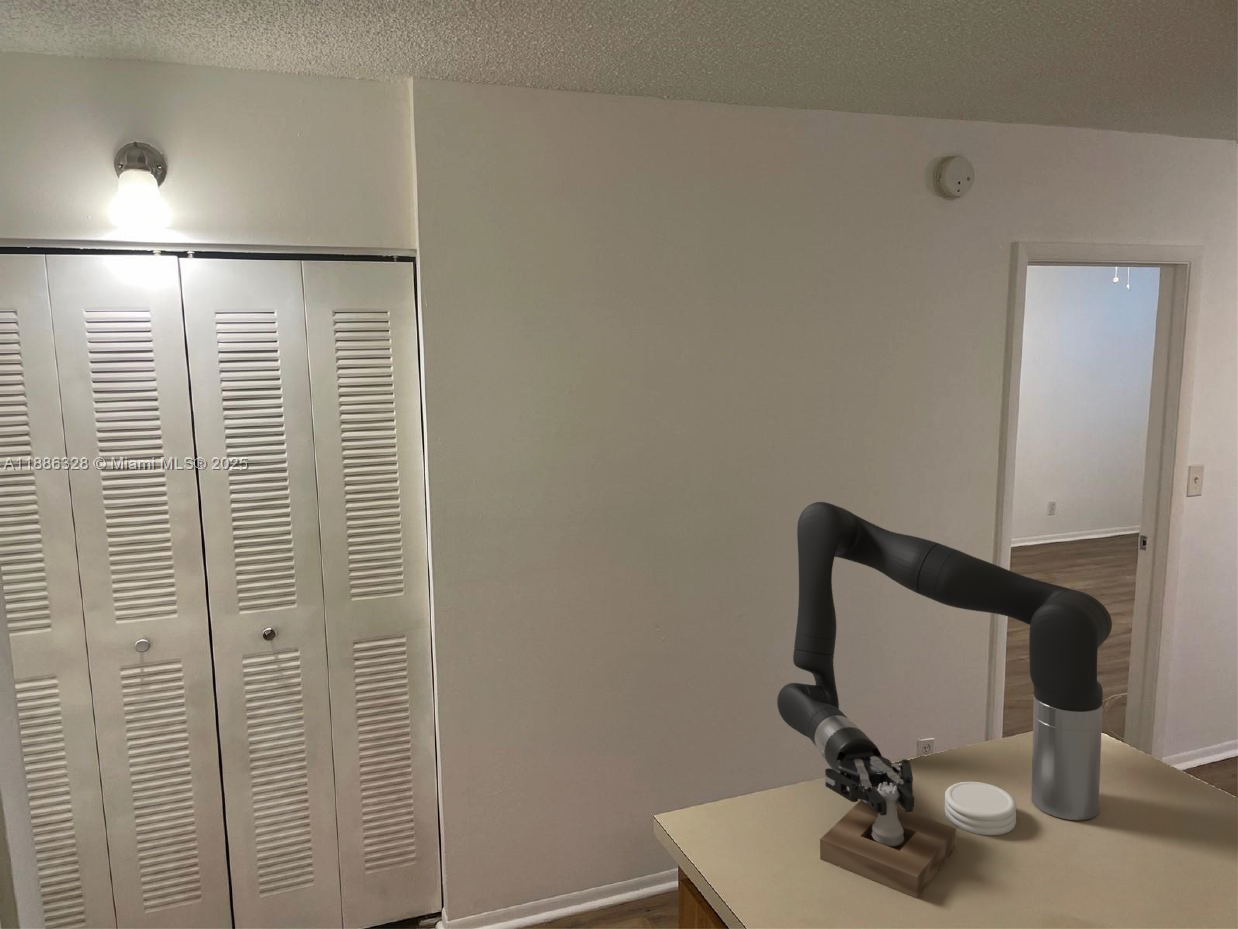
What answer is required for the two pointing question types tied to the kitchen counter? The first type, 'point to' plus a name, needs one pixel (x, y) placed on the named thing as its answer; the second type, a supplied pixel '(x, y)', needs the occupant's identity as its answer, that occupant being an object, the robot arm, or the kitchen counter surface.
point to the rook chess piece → (888, 819)
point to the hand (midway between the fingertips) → (897, 807)
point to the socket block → (889, 849)
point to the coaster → (980, 808)
